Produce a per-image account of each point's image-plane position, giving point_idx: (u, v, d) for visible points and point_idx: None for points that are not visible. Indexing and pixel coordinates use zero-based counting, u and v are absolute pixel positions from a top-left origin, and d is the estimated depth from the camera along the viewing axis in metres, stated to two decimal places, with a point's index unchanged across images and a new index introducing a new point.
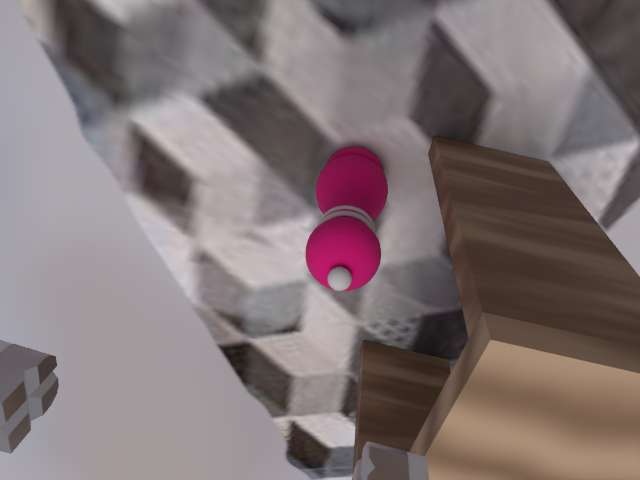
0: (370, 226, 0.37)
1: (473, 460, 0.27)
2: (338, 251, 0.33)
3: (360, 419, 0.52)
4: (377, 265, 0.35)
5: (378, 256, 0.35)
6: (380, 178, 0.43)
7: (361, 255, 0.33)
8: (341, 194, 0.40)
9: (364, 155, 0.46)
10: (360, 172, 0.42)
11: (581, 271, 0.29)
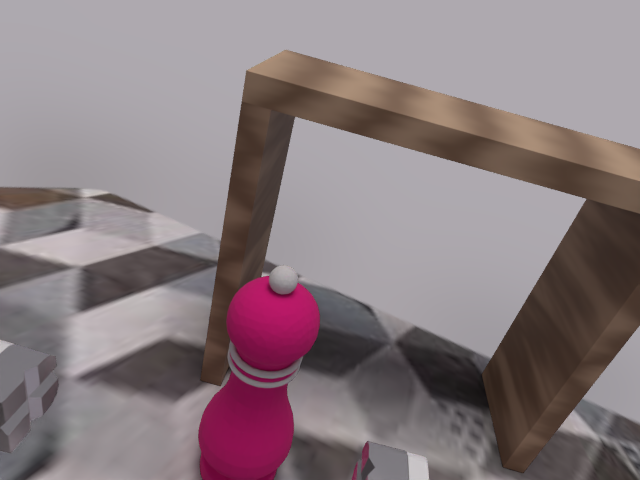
0: None
1: (389, 101, 0.31)
2: (252, 291, 0.28)
3: (569, 375, 0.37)
4: None
5: None
6: None
7: (259, 278, 0.29)
8: (227, 391, 0.32)
9: None
10: (212, 398, 0.34)
11: None
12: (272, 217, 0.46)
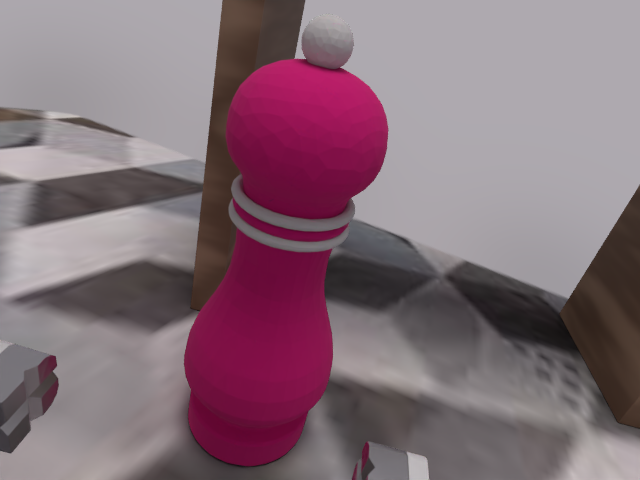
0: None
1: None
2: (272, 65, 0.15)
3: None
4: None
5: None
6: None
7: None
8: (228, 276, 0.19)
9: None
10: None
11: None
12: None
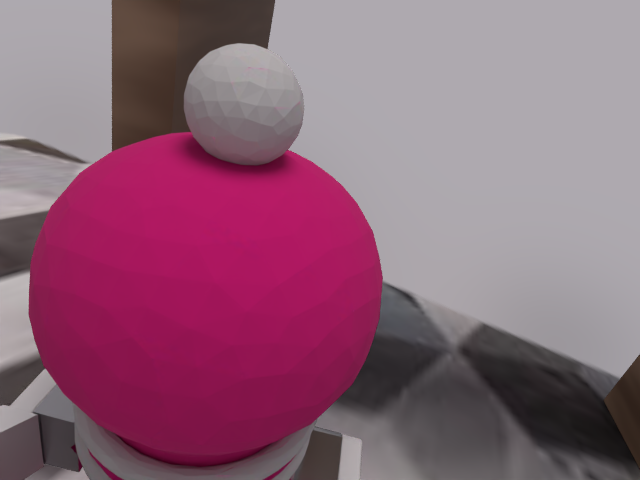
0: None
1: None
2: (121, 156, 0.07)
3: None
4: None
5: None
6: None
7: None
8: None
9: None
10: None
11: None
12: None
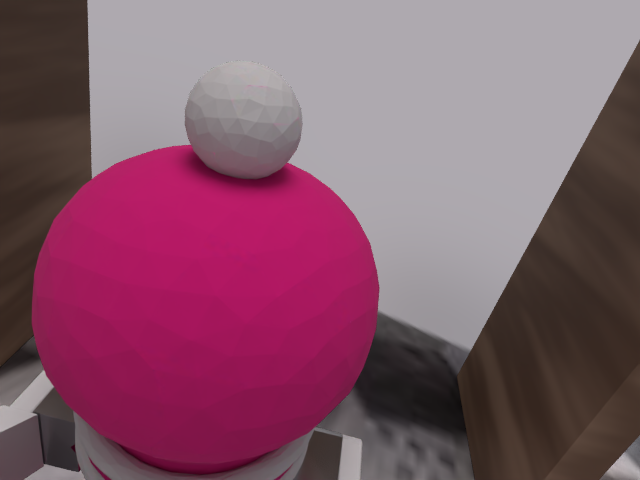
0: None
1: None
2: (124, 170, 0.07)
3: (624, 377, 0.17)
4: None
5: None
6: None
7: None
8: None
9: None
10: None
11: None
12: (81, 105, 0.26)
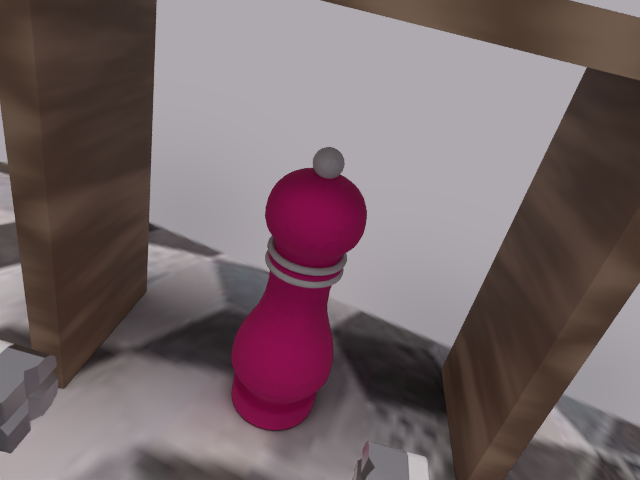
0: None
1: None
2: (295, 176, 0.25)
3: (541, 360, 0.25)
4: None
5: None
6: None
7: None
8: (264, 301, 0.29)
9: None
10: (246, 318, 0.32)
11: None
12: (145, 161, 0.35)
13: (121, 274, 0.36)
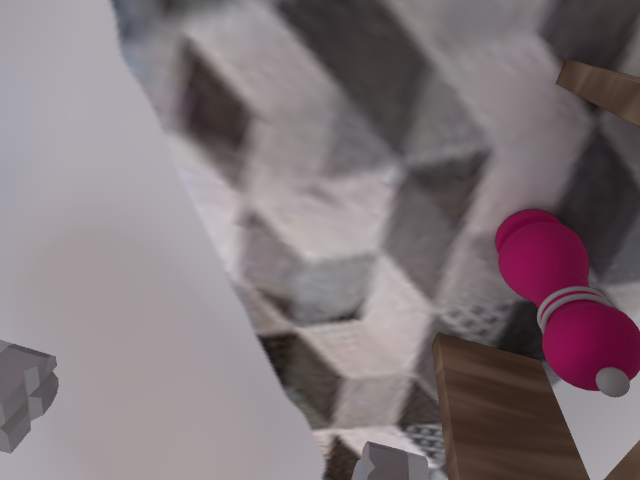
0: None
1: None
2: (610, 348, 0.28)
3: (452, 424, 0.40)
4: None
5: None
6: (585, 250, 0.38)
7: (636, 354, 0.28)
8: (558, 269, 0.35)
9: (553, 221, 0.42)
10: (569, 243, 0.37)
11: None
12: None
13: None
